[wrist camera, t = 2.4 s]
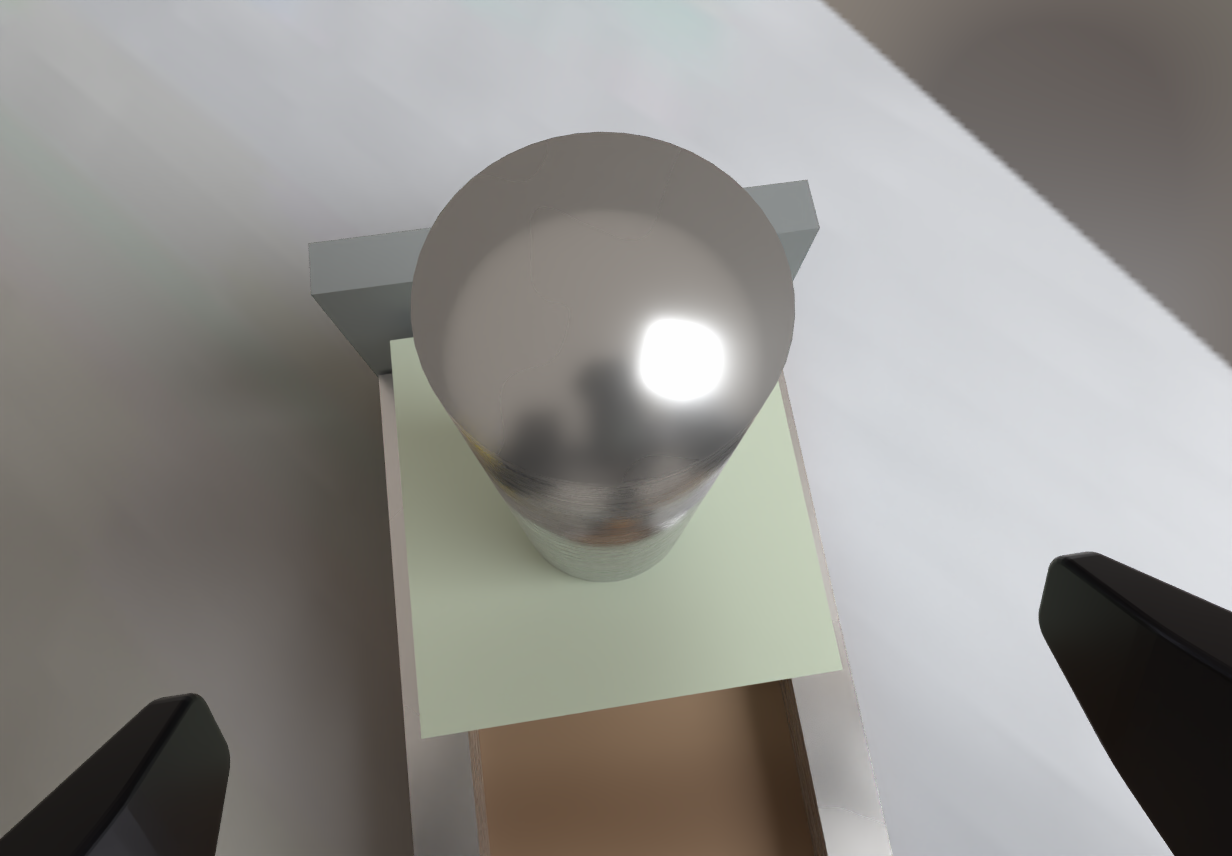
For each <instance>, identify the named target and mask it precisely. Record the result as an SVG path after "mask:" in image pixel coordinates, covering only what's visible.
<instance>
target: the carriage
mask: <svg viewBox="0 0 1232 856" xmlns="http://www.w3.org/2000/svg"><path fill="white" fill-rule="evenodd" d="M794 320H795V298H794V288H793V282H792V276H791V270H790V267H789V264H788V261H787V258H786V254H785V251H784V248H783V246H782V244H781V242H780V240H779V238H778V236H777V233H776V231H775V229H774V227H773V226H772V224H771V223H770V221H769V220H768V218H767V217H766V215H765V213H764V212H763V210H762V209H761V208H760V207H759V205H758V204H757V203H756V202H755V201H754V199H753V198H752V197H751V196H750V195H749V194H748V192H747V191H746V190H744V189H743V188H742V187H741V186H740V185H739V184H738V183H737V182H736V181H735V180H734V179H733V178H731V177H730V176H729V175H728V174H726V173H725V172H723V171H722V170H721V169H719V168H718V167H716V166H715V165H714V164H712V163H711V162H709V161H707V160H705V159H703V158H702V157H700V156H698V155H696V154H694V153H692V152H690V151H688V150H686V149H683V148H681V147H678V146H676V145H673V144H671V143H668V142H664V141H661V140H657V139H653V138H650V137H646V136H640V135H633V134H627V133H614V132H591V133H576V134H571V135H565V136H560V137H554V138H551V139H547V140H544V141H541V142H537V143H534V144H531V145H528V146H526V147H524V148H522V149H519V150H517V151H515V152H512V153H510V154H508V155H506V156H505V157H503V158H501V159H500V160H498V161H496V162H494V163H493V164H491V165H489V166H488V167H487V168H485V169H484V170H483V171H481V172H480V173H479V174H477V175H476V176H475V177H473V178H472V179H471V180H470V181H469V182H468V183H467V184H466V185H465V186H464V187H463V188H462V189H460V190H459V191H458V192H457V193H456V194H455V195H454V197H453V198H452V199H451V200H450V202H449V203H448V204H447V205H446V207H445V208H444V209H443V210H442V212H441V213H440V215H439V216H438V218H437V219H436V221H435V223H434V224H433V226H432V228H431V229H430V231H429V233H428V235H427V237H426V240H425V242H424V244H423V247H422V249H421V251H420V254H419V257H418V261H417V265H416V268H415V272H414V275H413V283H412V291H411V326H412V332H413V337H412V338H405V339H397V340H390V349H391V361H392V374H393V386H394V399H395V411H396V424H397V437H398V449H399V462H400V474H401V487H402V499H403V512H404V524H405V537H406V550H407V562H408V575H409V587H410V600H411V612H412V625H413V638H414V650H415V663H416V675H417V688H418V700H419V713H420V725H421V738H422V739H424V738H430V737H436V736H442V735H448V734H454V733H460V732H466V731H472V730H478V729H485V728H491V727H497V726H503V725H509V724H515V723H521V722H527V721H533V720H539V719H545V718H552V717H558V716H564V715H570V714H576V713H582V712H588V711H594V710H600V709H606V708H613V707H619V706H625V705H631V704H637V703H643V702H649V701H655V700H661V699H667V698H673V697H680V696H686V695H692V694H698V693H704V692H710V691H716V690H722V689H728V688H734V687H740V686H747V685H753V684H759V683H765V682H771V681H777V680H783V679H789V678H795V677H801V676H808V675H814V674H820V673H826V672H832V671H838V670H843V668H842V664H841V659H840V655H839V651H838V646H837V642H836V637H835V633H834V628H833V624H832V619H831V615H830V610H829V606H828V601H827V597H826V592H825V588H824V584H823V579H822V575H821V570H820V566H819V561H818V557H817V552H816V548H815V543H814V539H813V534H812V530H811V525H810V521H809V516H808V512H807V508H806V503H805V499H804V494H803V490H802V485H801V481H800V476H799V472H798V467H797V463H796V458H795V454H794V449H793V445H792V440H791V436H790V432H789V427H788V423H787V418H786V414H785V409H784V405H783V400H782V396H781V391H780V387H779V382H778V379H779V377H780V375H781V372H782V370H783V368H784V365H785V363H786V360H787V356H788V353H789V349H790V345H791V342H792V336H793V328H794Z"/></svg>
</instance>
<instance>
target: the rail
mask: <svg viewBox="0 0 1232 856" xmlns="http://www.w3.org/2000/svg"><path fill="white" fill-rule="evenodd" d="M743 189H744V190H746V191H747V192H748V194H749V195H750V196H751V197H752V198H753V199H754V201H755V202H756V203H757V204H758V205H759V207H760V208H761V209H762V210H763V212H764V213H765V215H766V217H767V218H768V220H769V221H770V223H771V224H772V226H773V227H774V229H775V231H776V233H777V236H778V238H779V240H780V242H781V244H782V246H783V248H784V251H785V254H786V258H787V261H788V264H789V267H790V270H791V276H792V282H793V280H794V278H795V276H796V274H797V272H798V270H799V268H800V266H801V264H802V262H803V260H804V258H805V256H806V254H807V252H808V250H809V248H810V246H811V244H812V242H813V240H814V238H815V236H816V234H817V232H818V230H819V228H820V227H819V223H818V219H817V215H816V211H815V207H814V204H813V200H812V196H811V192H810V188H809V184H808V180H802V181H794V182H786V183H778V184H770V185H762V186H755V187H747V188H743ZM430 229H431V228H425V229H418V230H410V231H402V232H394V233H386V234H378V235H371V236H363V237H355V238H347V239H339V240H331V241H324V242H316V243H309V263H310V282H311V295H312V296H313V298H314V299H315V300H316V301H317V303H318V304H319V305H320V306H321V308H322V309H323V310H324V311H325V312H326V314H327V315H328V316H329V317H330V319H331V320H332V321H333V322H334V324H335V325H336V326H337V327H338V328H339V330H340V331H341V332H342V333H343V335H344V336H345V337H346V338H347V340H348V341H349V342H350V343H351V344H352V346H353V347H354V348H355V349H356V351H357V352H358V353H359V354H360V356H361V357H362V358H363V359H364V360H365V362H366V363H367V364H368V365H369V367H370V368H371V369H372V370H373V372H374V373H375V374H376V375H377V376H378V378H379V390H380V403H381V417H382V430H383V443H384V457H385V470H386V484H387V497H388V511H389V524H390V538H391V551H392V565H393V578H394V592H395V605H396V619H397V632H398V645H399V659H400V672H401V686H402V699H403V713H404V726H405V740H406V753H407V767H408V780H409V794H410V807H411V820H412V834H413V847H414V856H893V854H892V850H891V846H890V841H889V837H888V832H887V828H886V824H885V819H884V815H883V810H882V806H881V801H880V797H879V793H878V788H877V784H876V779H875V775H874V771H873V766H872V762H871V757H870V753H869V748H868V744H867V740H866V735H865V731H864V726H863V722H862V718H861V713H860V709H859V704H858V700H857V695H856V691H855V687H854V682H853V678H852V673H851V669H850V665H849V660H848V656H847V651H846V647H845V642H844V638H843V634H842V629H841V625H840V620H839V616H838V612H837V607H836V603H835V598H834V594H833V589H832V585H831V581H830V576H829V572H828V567H827V563H826V559H825V554H824V550H823V545H822V541H821V536H820V532H819V528H818V523H817V519H816V514H815V510H814V506H813V501H812V497H811V492H810V488H809V483H808V479H807V475H806V470H805V466H804V461H803V457H802V453H801V448H800V444H799V439H798V435H797V430H796V426H795V422H794V417H793V413H792V408H791V404H790V400H789V395H788V391H787V386H786V382H785V377H784V373H783V370H782V372H781V375H780V377H779V379H778V382H779V387H780V391H781V396H782V400H783V405H784V409H785V414H786V418H787V423H788V427H789V432H790V436H791V440H792V445H793V449H794V454H795V458H796V463H797V467H798V472H799V476H800V481H801V485H802V490H803V494H804V499H805V503H806V508H807V512H808V516H809V521H810V525H811V530H812V534H813V539H814V543H815V548H816V552H817V557H818V561H819V566H820V570H821V575H822V579H823V584H824V588H825V592H826V597H827V601H828V606H829V610H830V615H831V619H832V624H833V628H834V633H835V637H836V642H837V646H838V651H839V655H840V659H841V664H842V668H843V670H838V671H832V672H826V673H820V674H814V675H808V676H801V677H795V678H789V679H783V680H777V681H771V682H765V683H759V684H753V685H747V686H740V687H734V688H728V689H722V690H716V691H710V692H704V693H698V694H692V695H686V696H680V697H673V698H667V699H661V700H655V701H649V702H643V703H637V704H631V705H625V706H619V707H613V708H606V709H600V710H594V711H588V712H582V713H576V714H570V715H564V716H558V717H552V718H545V719H539V720H533V721H527V722H521V723H515V724H509V725H503V726H497V727H491V728H485V729H478V730H472V731H466V732H460V733H454V734H448V735H442V736H436V737H430V738H424V739H422V738H421V725H420V713H419V700H418V688H417V675H416V663H415V650H414V638H413V625H412V612H411V600H410V587H409V575H408V562H407V550H406V537H405V524H404V512H403V499H402V487H401V474H400V462H399V449H398V437H397V424H396V411H395V399H394V386H393V374H392V361H391V349H390V340H397V339H405V338H412V337H413V332H412V326H411V291H412V283H413V275H414V272H415V268H416V265H417V261H418V257H419V254H420V251H421V249H422V247H423V244H424V242H425V240H426V237H427V235H428V233H429V231H430Z"/></svg>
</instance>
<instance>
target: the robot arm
mask: <svg viewBox="0 0 1232 856" xmlns="http://www.w3.org/2000/svg"><path fill="white" fill-rule="evenodd" d="M1039 625H1040V629H1041V632H1042V634H1043V636H1044V639H1045V640H1046V642H1047V644H1048V646H1049V648H1050V650H1051V652H1052V653H1053V655H1054V657H1055V659H1056V661H1057V663H1058V664H1059V666H1060V668H1061V670H1062V672H1063V674H1064V676H1065V677H1066V679H1067V681H1068V683H1069V685H1070V687H1071V688H1072V690H1073V692H1074V694H1075V696H1076V698H1077V700H1078V701H1079V703H1080V705H1081V707H1082V709H1083V711H1084V713H1085V714H1086V716H1087V718H1088V720H1089V722H1090V724H1091V725H1092V727H1093V729H1094V731H1095V733H1096V735H1097V737H1098V738H1099V740H1100V742H1101V744H1102V746H1103V747H1104V749H1105V751H1106V752H1107V754H1108V756H1109V758H1110V759H1111V761H1112V763H1113V765H1114V766H1115V768H1116V769H1117V771H1118V772H1119V774H1120V775H1121V777H1122V778H1123V780H1124V782H1125V783H1126V785H1127V786H1128V788H1129V789H1130V791H1131V792H1132V794H1133V795H1134V797H1135V798H1136V800H1137V801H1138V803H1139V804H1140V806H1141V807H1142V809H1143V810H1144V812H1145V813H1146V814H1147V816H1148V817H1149V819H1150V820H1151V822H1152V823H1153V825H1154V826H1155V828H1156V829H1157V831H1158V832H1159V834H1160V835H1161V837H1162V838H1163V840H1164V841H1165V843H1166V844H1167V846H1168V847H1169V849H1170V850H1171V852H1172V853H1173V855H1174V856H1232V612H1231V611H1229V610H1227V609H1224V608H1222V607H1220V606H1218V605H1215V604H1213V603H1211V602H1208V601H1206V600H1204V599H1202V598H1199V597H1197V596H1195V595H1193V594H1190V593H1188V592H1186V591H1183V590H1181V589H1179V588H1177V587H1174V586H1172V585H1170V584H1168V583H1165V582H1163V581H1161V580H1159V579H1156V578H1154V577H1152V576H1149V575H1147V574H1145V573H1143V572H1140V571H1138V570H1136V569H1134V568H1131V567H1129V566H1127V565H1124V564H1122V563H1120V562H1118V561H1115V560H1113V559H1111V558H1109V557H1106V556H1104V555H1102V554H1099V553H1096V552H1081V553H1075V554H1069V555H1062V556H1059V557H1056V558H1055V559H1054V560H1053V561H1052V562H1051V563H1050V566H1049V569H1048V573H1047V577H1046V582H1045V586H1044V591H1043V595H1042V599H1041V604H1040V608H1039ZM229 770H230V754H229V749H228V745H227V743H226V741H225V739H224V737H223V735H222V733H221V731H220V729H219V727H218V725H217V723H216V721H215V719H214V717H213V715H212V713H211V711H210V709H209V707H208V705H207V704H206V702H205V700H204V699H203V698H202V697H201V696H200V695H198V694H193V693H188V694H182V695H176V696H169V697H163V698H159V699H156V700H154V701H152V702H151V703H149V704H148V705H147V706H146V707H144V708H143V709H142V710H141V711H140V712H139V713H138V714H137V715H136V716H135V717H134V718H132V719H131V720H130V721H129V722H128V723H127V724H126V725H125V726H124V727H123V728H121V729H120V730H119V731H118V732H117V733H116V734H115V735H114V736H113V737H112V738H111V739H109V740H108V741H107V742H106V743H105V744H104V745H103V746H102V747H101V748H100V749H98V750H97V751H96V752H95V753H94V754H93V755H92V756H91V757H90V758H89V759H87V760H86V761H85V762H84V763H83V764H82V765H81V766H80V767H79V768H78V769H77V770H75V771H74V772H73V773H72V774H71V775H70V776H69V777H68V778H67V779H66V780H64V781H63V782H62V783H61V784H60V785H59V786H58V787H57V788H56V789H55V790H54V791H52V792H51V793H50V794H49V795H48V796H47V797H46V798H45V799H44V800H43V801H41V802H40V803H39V804H38V805H37V806H36V807H35V808H34V809H33V810H32V811H31V812H29V813H28V814H27V815H26V816H25V817H24V818H23V819H22V820H21V821H20V822H18V823H17V824H16V825H15V826H14V827H13V828H12V829H11V830H10V831H9V832H7V833H6V834H5V835H4V836H3V837H2V838H1V839H0V856H215V852H216V846H217V840H218V835H219V829H220V823H221V817H222V811H223V805H224V799H225V794H226V788H227V782H228V776H229Z"/></svg>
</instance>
